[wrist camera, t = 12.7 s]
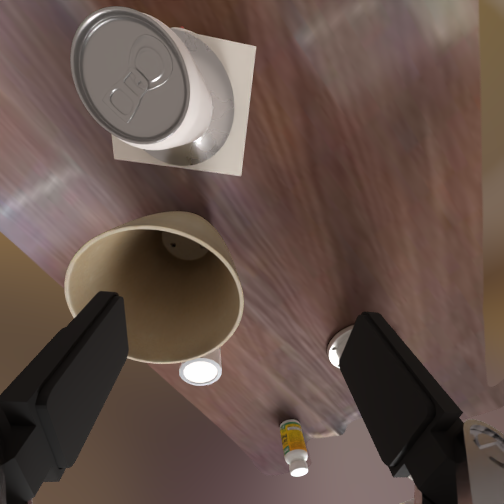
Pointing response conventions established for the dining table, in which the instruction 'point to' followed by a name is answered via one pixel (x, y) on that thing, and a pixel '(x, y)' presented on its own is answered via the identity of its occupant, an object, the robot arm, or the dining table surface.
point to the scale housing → (240, 74)
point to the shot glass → (202, 369)
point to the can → (139, 79)
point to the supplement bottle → (294, 447)
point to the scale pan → (221, 108)
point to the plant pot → (162, 285)
